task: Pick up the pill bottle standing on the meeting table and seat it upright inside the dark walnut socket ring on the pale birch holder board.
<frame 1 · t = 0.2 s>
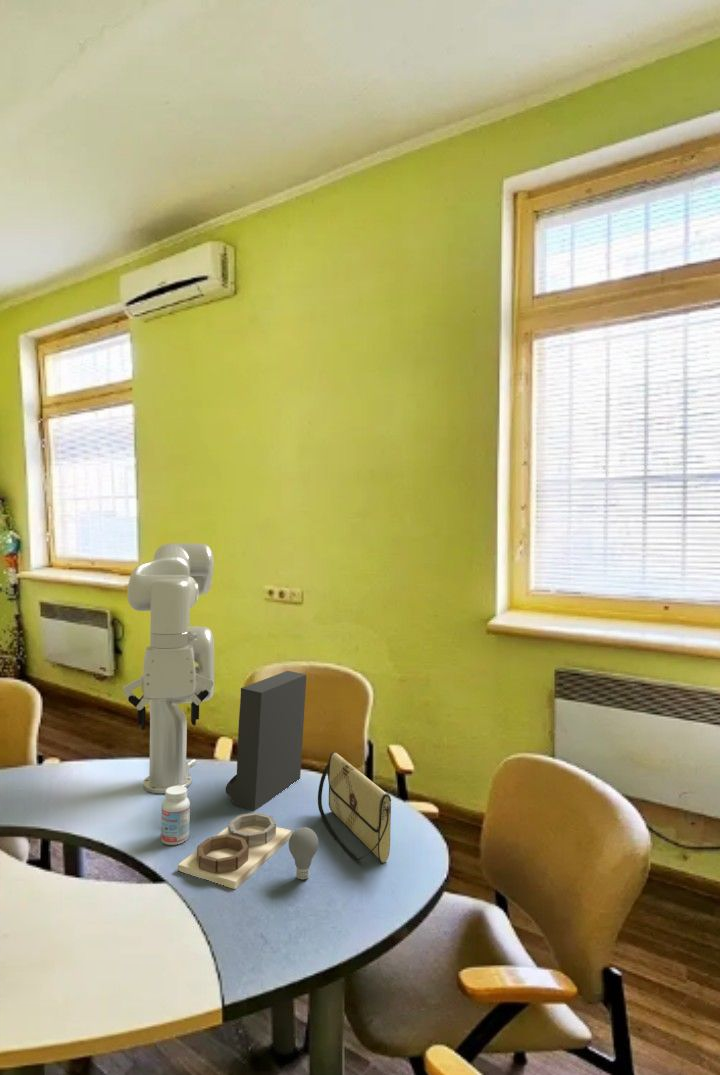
hand: (168, 725, 122), 30 cm above the table, tool pointing down, fingers open, 9 cm apart
dark gray upright block: (265, 791, 162), on the table
pill bottle: (175, 840, 137), on the table
holder board: (237, 853, 131), on the table
light bulb: (302, 878, 123), on the table
clutch purse: (349, 839, 139), on the table
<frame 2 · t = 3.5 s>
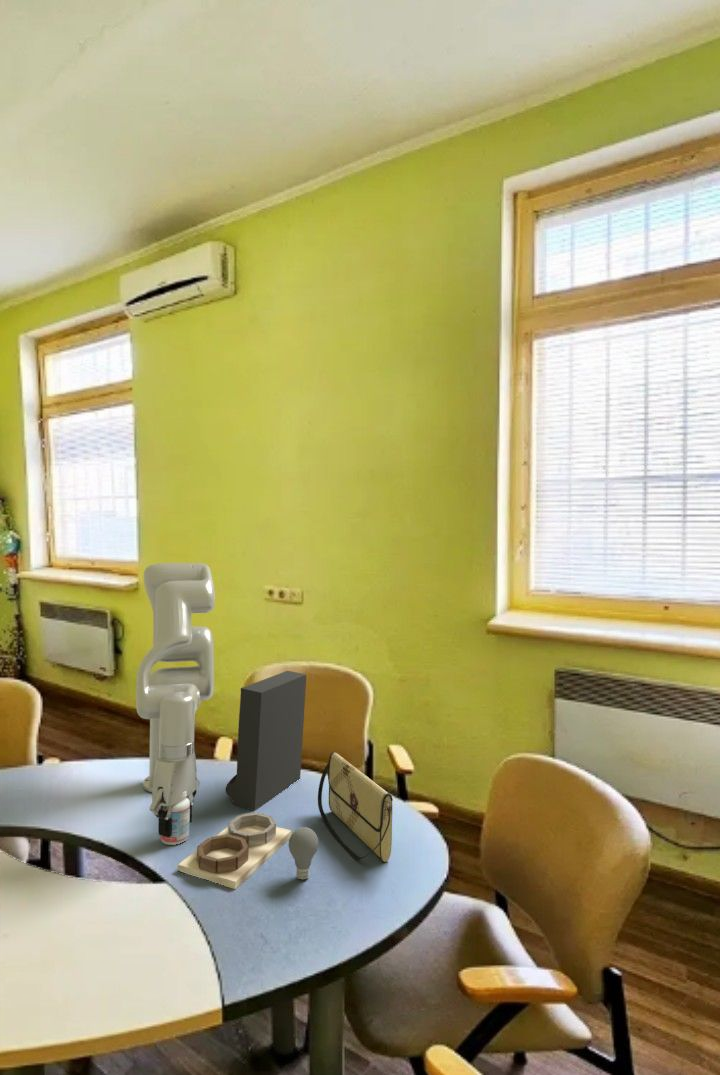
hand: (175, 827, 137), 3 cm above the table, tool pointing down, fingers closed on pill bottle, 6 cm apart
pill bottle: (175, 840, 137), on the table, touching gripper
everything else where it was.
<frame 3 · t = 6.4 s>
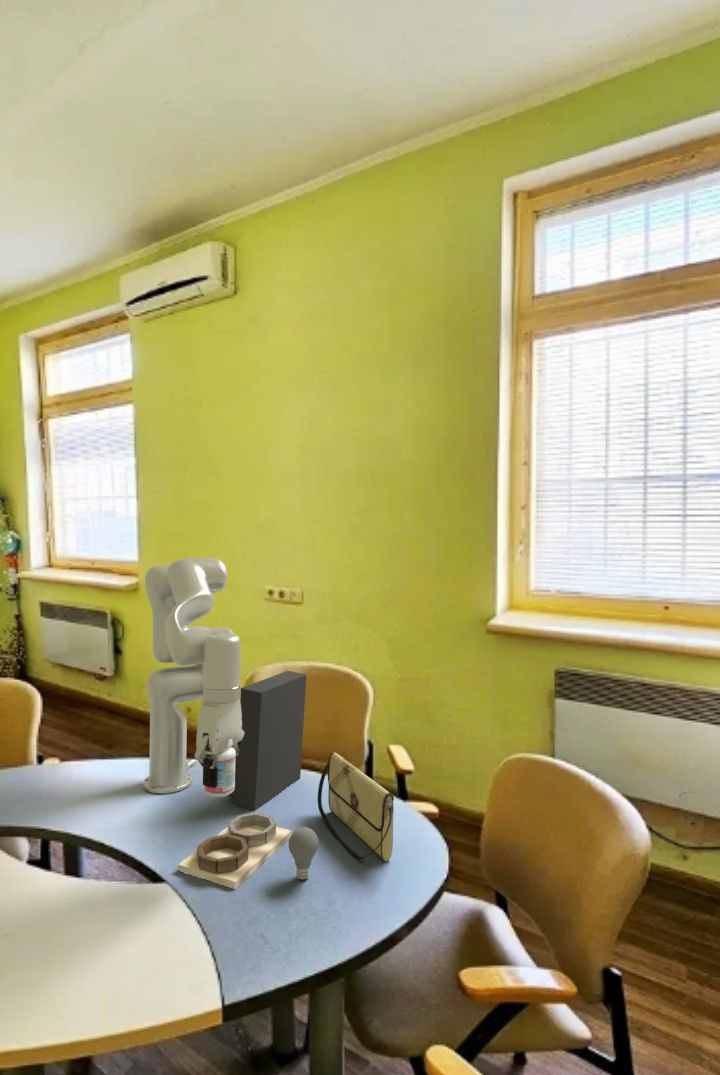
hand: (220, 779, 127), 18 cm above the table, tool pointing down, fingers closed on pill bottle, 6 cm apart
pill bottle: (220, 792, 127), point 15 cm above the table, touching gripper
everything else where it was.
when the fingers open (5 cm above the table, at t = 9.7 s): pill bottle drops 1 cm, resting on holder board.
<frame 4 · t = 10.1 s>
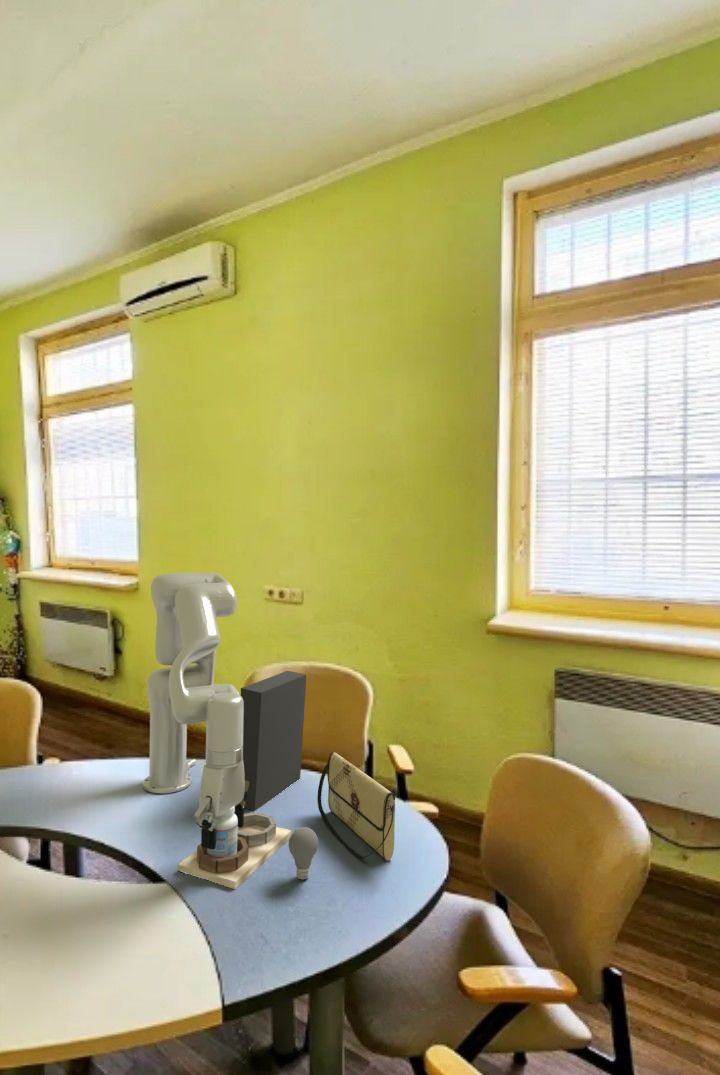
hand: (223, 836, 126), 6 cm above the table, tool pointing down, fingers open, 9 cm apart
pill bottle: (222, 859, 126), point 1 cm above the table, touching holder board
everything else where it was.
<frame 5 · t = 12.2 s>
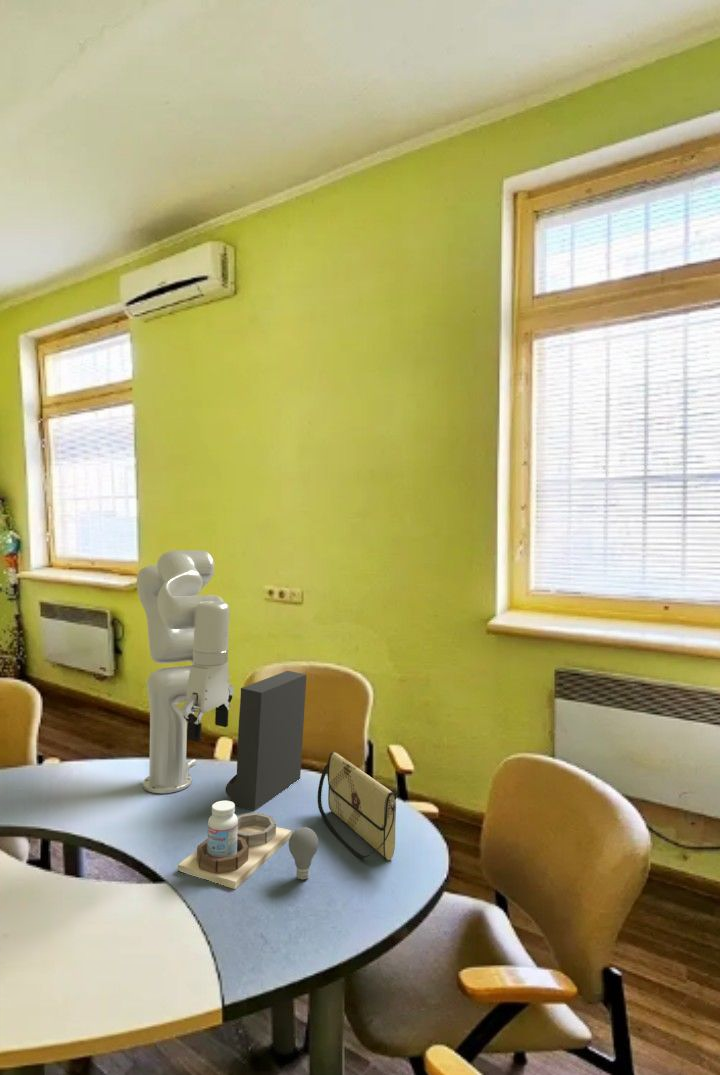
hand: (208, 732, 136), 24 cm above the table, tool pointing down, fingers open, 9 cm apart
nothing on the table moved.
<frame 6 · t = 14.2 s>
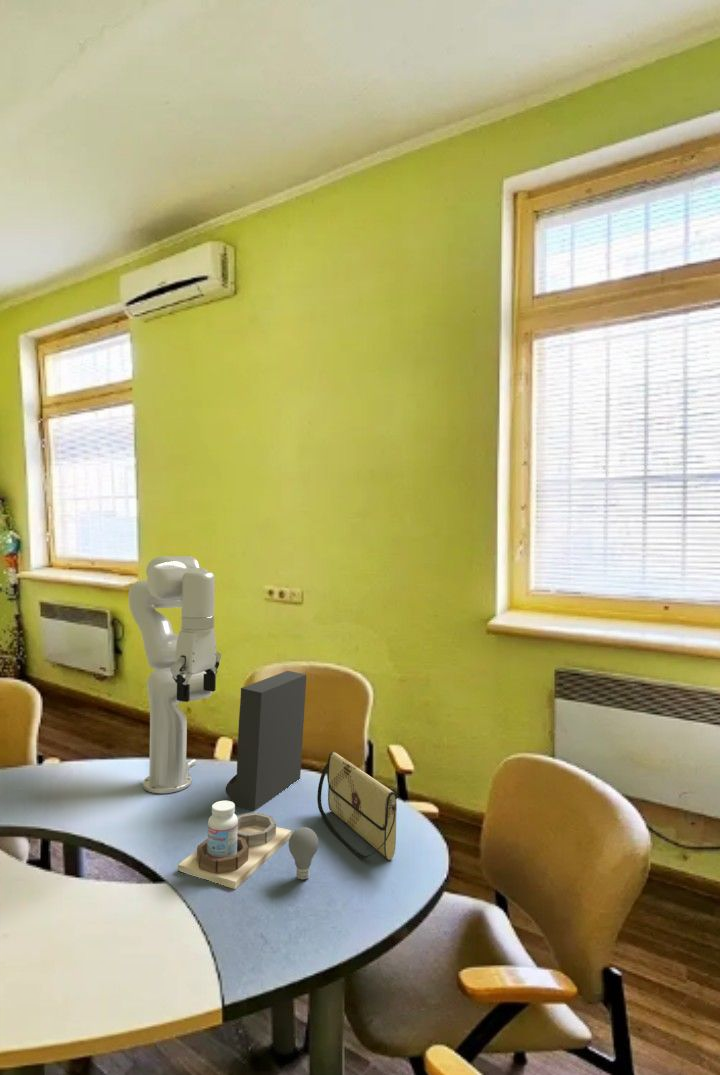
hand: (196, 695, 144), 30 cm above the table, tool pointing down, fingers open, 9 cm apart
nothing on the table moved.
at the end: pill bottle 0.2 cm from the target spot on the holder board, point 1.3 cm above the holder board's base; pill bottle tilted 0°; the gripper is holding nothing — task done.
